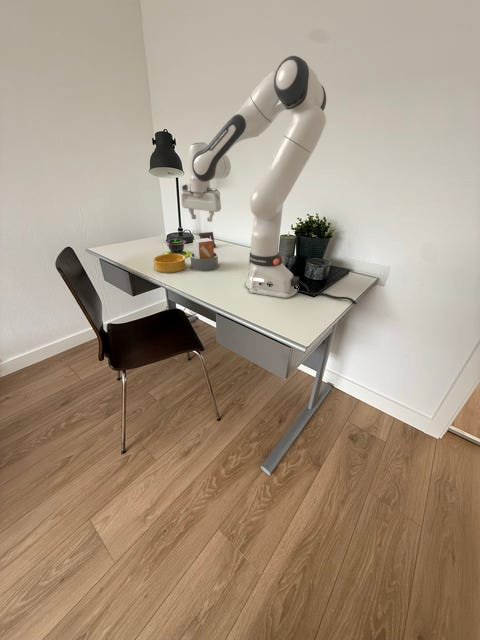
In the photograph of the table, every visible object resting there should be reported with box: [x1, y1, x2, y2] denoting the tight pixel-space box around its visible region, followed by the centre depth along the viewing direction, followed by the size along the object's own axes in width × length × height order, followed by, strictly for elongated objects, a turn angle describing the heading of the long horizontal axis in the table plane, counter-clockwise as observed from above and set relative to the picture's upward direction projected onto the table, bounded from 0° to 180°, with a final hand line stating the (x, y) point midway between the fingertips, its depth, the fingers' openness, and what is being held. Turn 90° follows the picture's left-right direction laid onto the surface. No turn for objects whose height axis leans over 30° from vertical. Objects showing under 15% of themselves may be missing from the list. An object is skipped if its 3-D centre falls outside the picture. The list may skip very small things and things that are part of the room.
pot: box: [189, 251, 219, 272], centre depth 133 cm, size 14×14×6 cm
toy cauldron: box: [164, 234, 191, 258], centre depth 150 cm, size 15×15×11 cm
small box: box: [192, 238, 215, 259], centre depth 132 cm, size 8×6×13 cm
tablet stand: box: [198, 231, 217, 248], centre depth 166 cm, size 9×8×8 cm
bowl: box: [152, 253, 187, 274], centre depth 131 cm, size 15×15×5 cm
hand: (201, 220), depth 124 cm, fingers open, 8 cm apart
